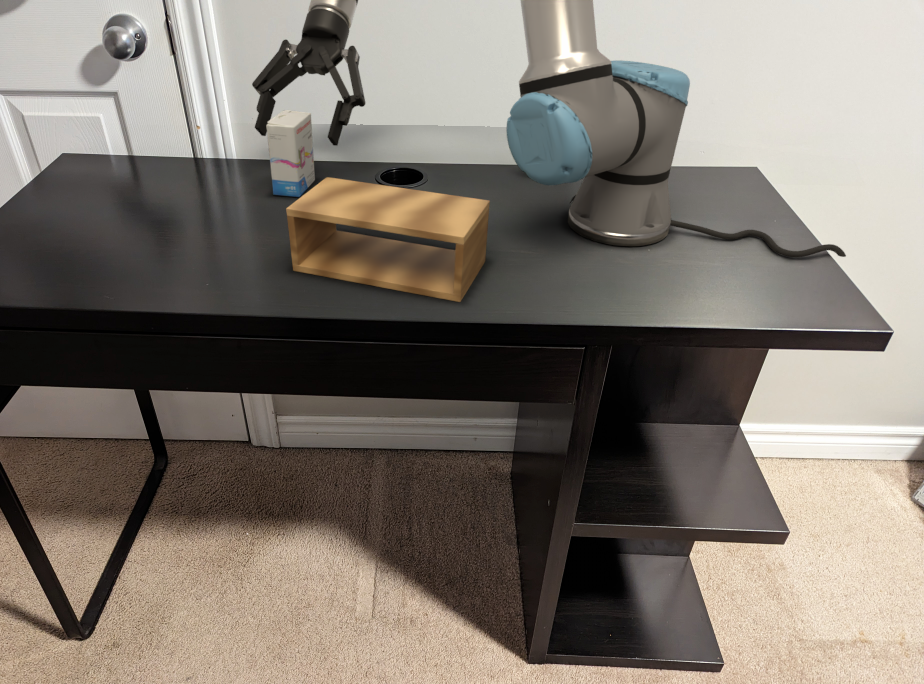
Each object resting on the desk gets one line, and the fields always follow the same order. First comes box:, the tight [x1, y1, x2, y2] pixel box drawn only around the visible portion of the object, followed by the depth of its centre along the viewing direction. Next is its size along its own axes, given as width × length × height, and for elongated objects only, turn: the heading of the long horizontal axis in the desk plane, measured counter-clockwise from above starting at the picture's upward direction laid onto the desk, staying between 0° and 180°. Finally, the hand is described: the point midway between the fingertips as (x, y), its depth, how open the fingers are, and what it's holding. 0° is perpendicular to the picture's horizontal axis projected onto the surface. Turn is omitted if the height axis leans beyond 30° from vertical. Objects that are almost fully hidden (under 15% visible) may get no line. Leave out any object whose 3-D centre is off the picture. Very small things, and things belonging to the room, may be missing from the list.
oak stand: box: [285, 176, 491, 303], centre depth 92 cm, size 24×12×9 cm, turn 70°
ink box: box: [266, 109, 316, 198], centre depth 114 cm, size 9×5×12 cm, turn 168°
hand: (295, 136), depth 114 cm, fingers open, 13 cm apart
